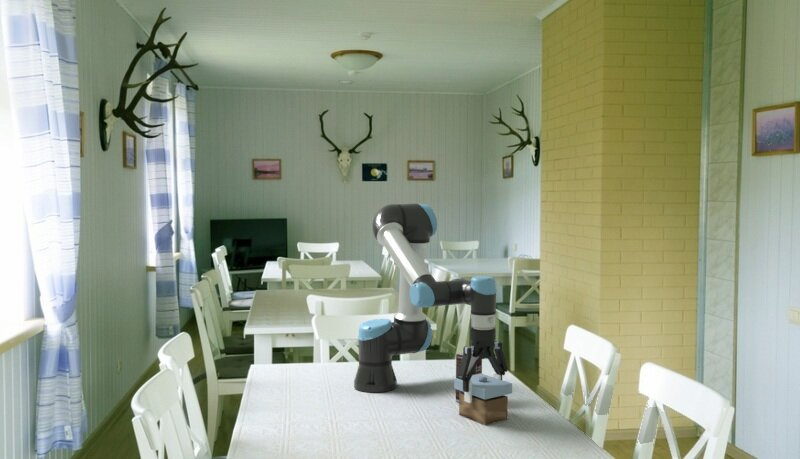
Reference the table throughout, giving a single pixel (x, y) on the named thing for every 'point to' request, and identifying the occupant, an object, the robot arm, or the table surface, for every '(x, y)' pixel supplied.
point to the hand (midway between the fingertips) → (482, 398)
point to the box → (484, 409)
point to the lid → (486, 386)
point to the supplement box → (458, 361)
